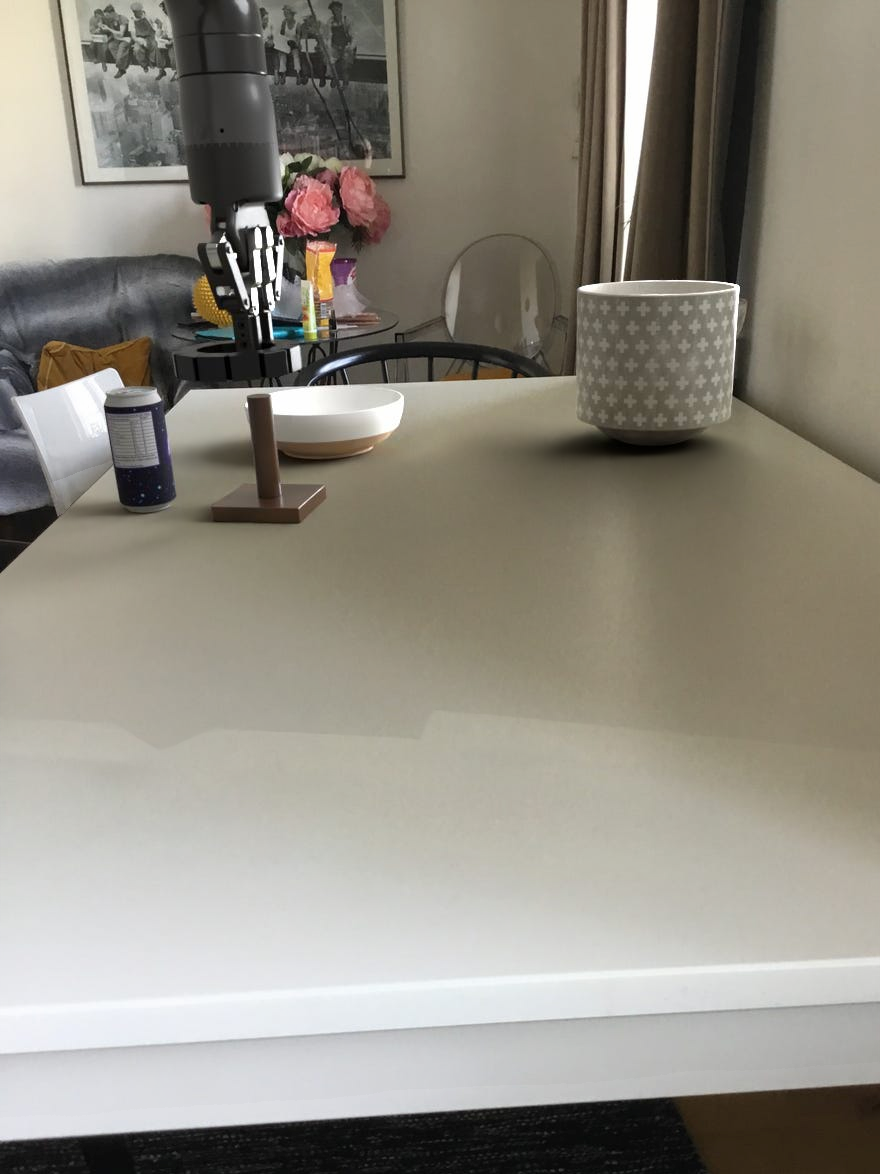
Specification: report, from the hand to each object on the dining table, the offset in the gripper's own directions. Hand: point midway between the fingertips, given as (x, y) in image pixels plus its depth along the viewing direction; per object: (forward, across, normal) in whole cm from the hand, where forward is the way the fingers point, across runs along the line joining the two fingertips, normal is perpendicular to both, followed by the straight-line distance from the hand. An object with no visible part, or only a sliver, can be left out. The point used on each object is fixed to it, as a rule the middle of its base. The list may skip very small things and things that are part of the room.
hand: (256, 357), depth 93 cm
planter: (+17, +44, -33) cm, 57 cm away
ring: (+1, -4, 0) cm, 4 cm away
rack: (+16, +8, +4) cm, 19 cm away
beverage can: (+16, +8, +17) cm, 25 cm away
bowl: (+17, +35, +7) cm, 40 cm away
